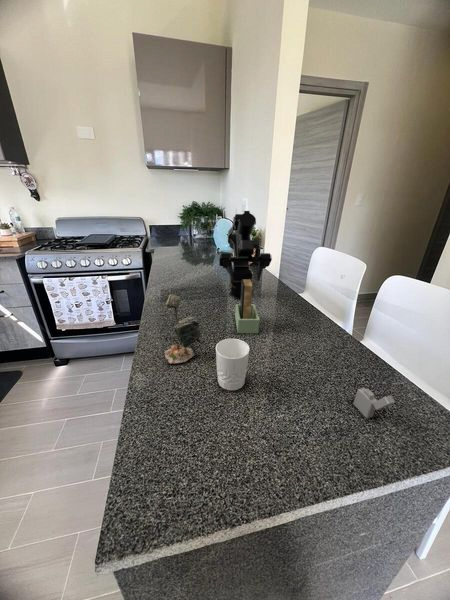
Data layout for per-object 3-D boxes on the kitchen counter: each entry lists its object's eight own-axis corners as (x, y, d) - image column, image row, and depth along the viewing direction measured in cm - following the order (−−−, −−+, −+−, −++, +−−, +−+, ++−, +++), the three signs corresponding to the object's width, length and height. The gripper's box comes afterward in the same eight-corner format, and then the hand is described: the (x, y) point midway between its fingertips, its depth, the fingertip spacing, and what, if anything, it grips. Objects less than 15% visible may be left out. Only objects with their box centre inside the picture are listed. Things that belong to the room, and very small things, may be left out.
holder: (235, 316, 93) (235, 304, 90) (253, 316, 93) (254, 304, 91) (237, 333, 82) (238, 319, 80) (258, 333, 82) (259, 319, 80)
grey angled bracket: (352, 403, 57) (361, 376, 53) (359, 401, 57) (368, 374, 54) (377, 430, 51) (389, 401, 47) (384, 428, 51) (396, 399, 48)
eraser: (240, 327, 85) (242, 285, 78) (239, 318, 90) (241, 279, 84) (249, 327, 85) (252, 286, 78) (247, 318, 90) (250, 279, 84)
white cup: (250, 374, 65) (253, 342, 60) (242, 396, 58) (244, 361, 54) (221, 367, 67) (222, 335, 63) (210, 387, 60) (210, 353, 56)
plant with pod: (205, 361, 69) (204, 295, 60) (163, 366, 67) (156, 298, 58) (201, 344, 76) (199, 283, 68) (163, 348, 74) (156, 285, 65)
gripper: (219, 229, 86) (220, 270, 81) (273, 230, 87) (277, 270, 81) (219, 247, 97) (219, 284, 91) (267, 247, 97) (270, 284, 92)
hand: (245, 280), depth 89 cm, fingers open, 9 cm apart
